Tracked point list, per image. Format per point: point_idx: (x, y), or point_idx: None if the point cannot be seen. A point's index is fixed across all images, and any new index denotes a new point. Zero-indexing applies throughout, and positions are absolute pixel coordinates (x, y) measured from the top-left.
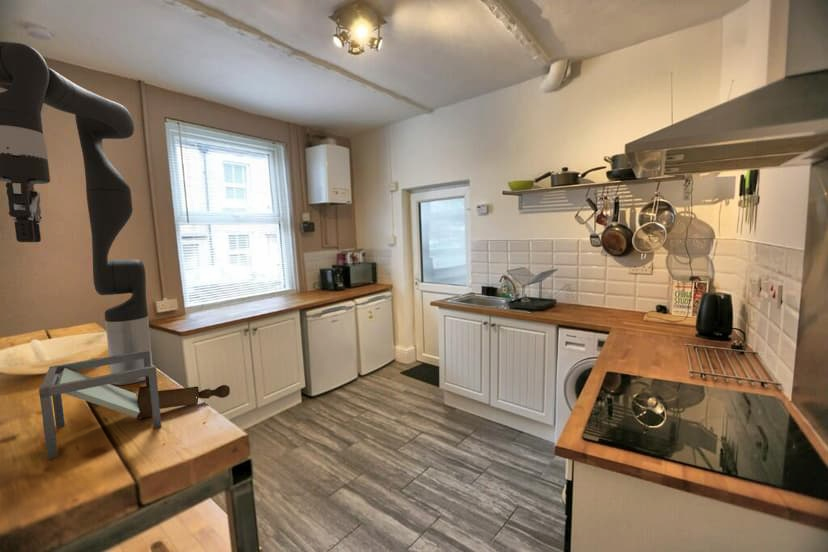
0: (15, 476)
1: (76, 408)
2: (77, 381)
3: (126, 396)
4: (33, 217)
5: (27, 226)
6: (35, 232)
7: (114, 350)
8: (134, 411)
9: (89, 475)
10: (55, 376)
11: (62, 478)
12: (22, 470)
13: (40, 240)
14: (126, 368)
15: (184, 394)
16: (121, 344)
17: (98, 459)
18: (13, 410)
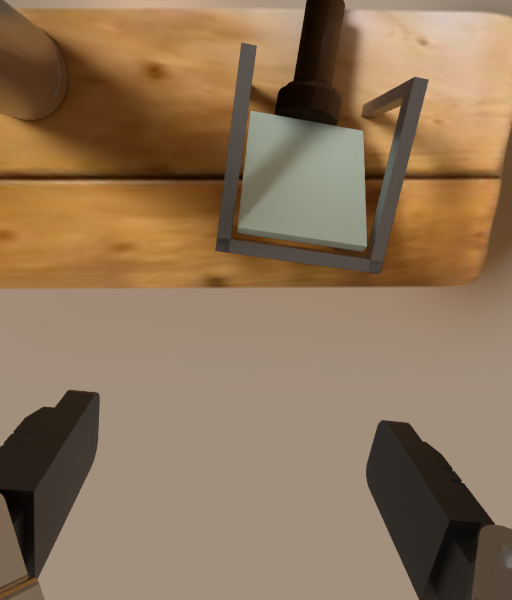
0: (357, 279)
1: (149, 199)
2: (387, 221)
3: (292, 134)
4: (508, 548)
5: (480, 511)
6: (72, 452)
7: (5, 94)
8: (362, 138)
9: (436, 216)
10: (278, 245)
11: (413, 240)
12: (347, 273)
13: (92, 392)
14: (47, 83)
15: (339, 33)
16: (8, 71)
17: (401, 201)
18: (70, 280)
